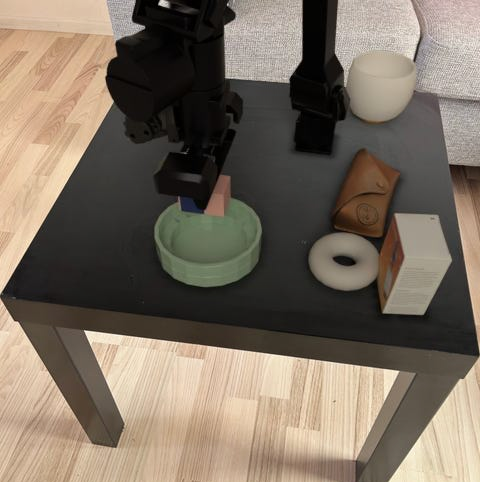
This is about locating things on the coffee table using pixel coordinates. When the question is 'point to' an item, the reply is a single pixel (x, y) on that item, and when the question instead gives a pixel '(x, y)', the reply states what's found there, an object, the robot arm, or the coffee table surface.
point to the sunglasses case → (365, 196)
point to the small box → (411, 263)
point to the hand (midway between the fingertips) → (206, 198)
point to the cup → (380, 85)
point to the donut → (336, 273)
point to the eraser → (211, 199)
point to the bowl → (208, 244)
